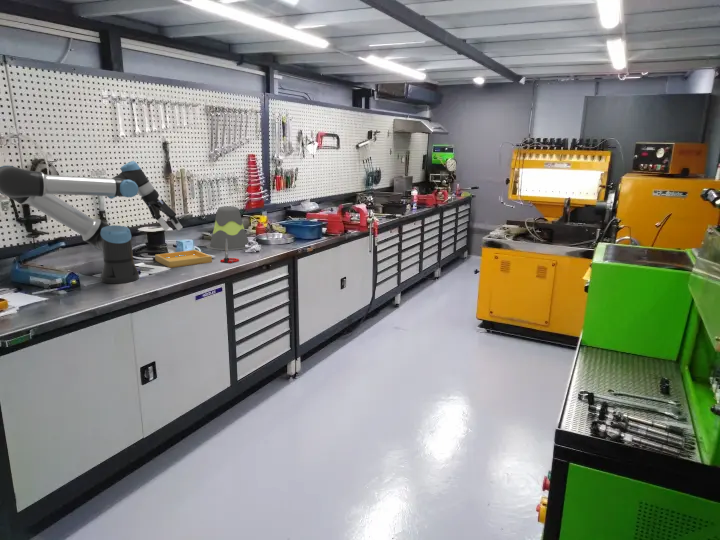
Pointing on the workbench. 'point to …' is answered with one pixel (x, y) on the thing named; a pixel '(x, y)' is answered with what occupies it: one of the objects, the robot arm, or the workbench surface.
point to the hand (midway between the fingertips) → (173, 229)
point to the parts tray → (183, 258)
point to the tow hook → (226, 259)
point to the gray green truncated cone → (228, 230)
